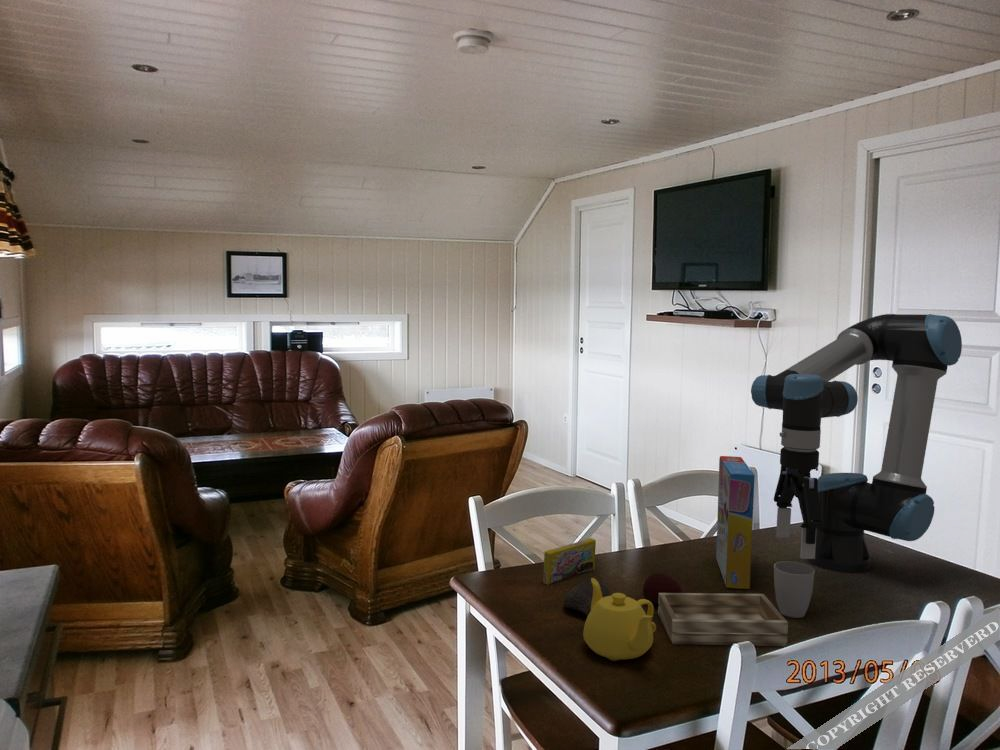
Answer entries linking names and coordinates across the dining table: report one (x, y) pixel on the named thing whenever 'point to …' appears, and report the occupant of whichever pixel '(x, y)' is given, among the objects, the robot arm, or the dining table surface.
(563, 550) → the candy box
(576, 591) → the stone
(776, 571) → the cup
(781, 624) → the tray
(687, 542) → the dining table surface
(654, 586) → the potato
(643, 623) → the teapot
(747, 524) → the game box
